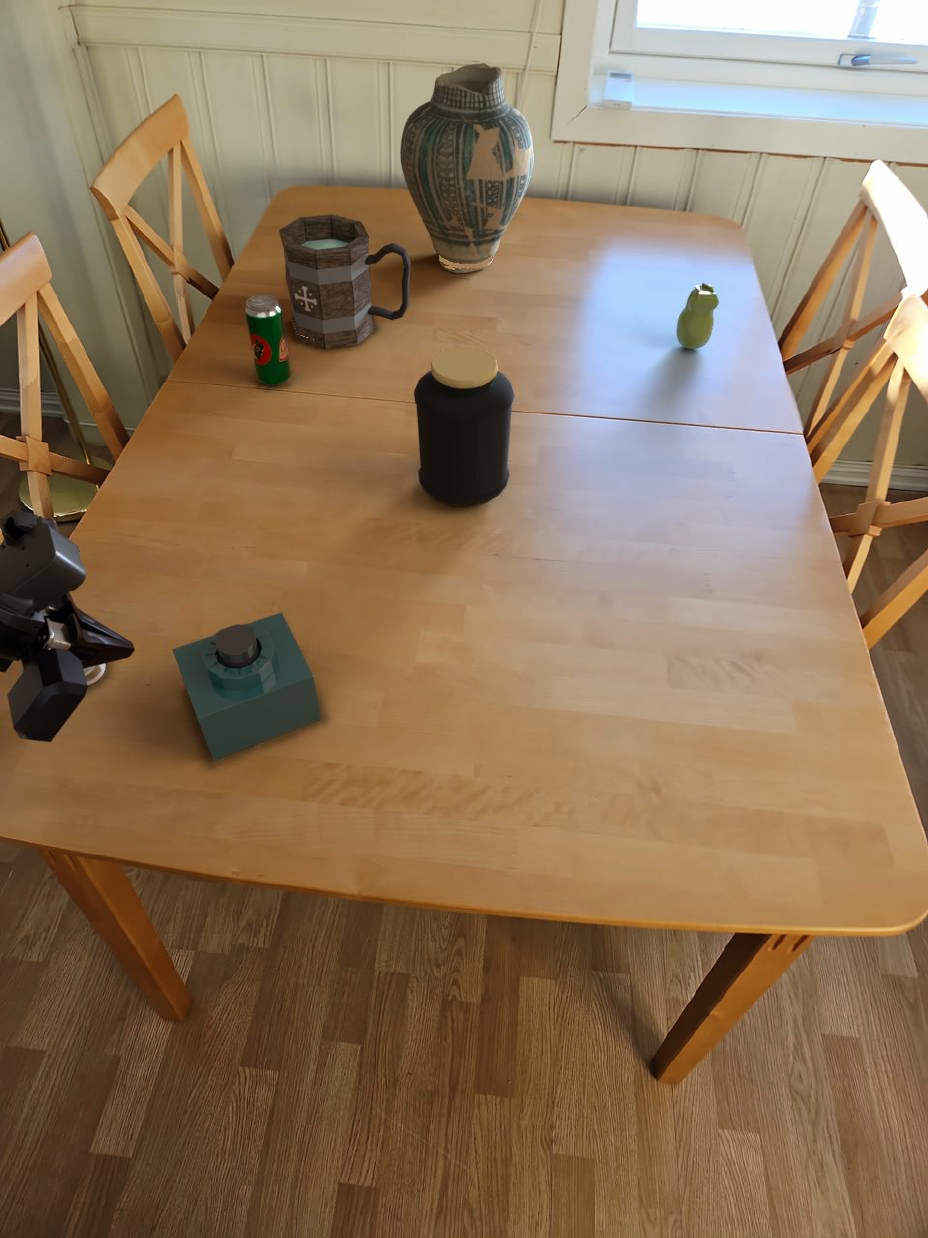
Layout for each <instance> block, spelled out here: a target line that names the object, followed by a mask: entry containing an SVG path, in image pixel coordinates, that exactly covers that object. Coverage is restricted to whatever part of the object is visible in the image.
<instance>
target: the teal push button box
mask: <svg viewBox="0 0 928 1238" xmlns="http://www.w3.org/2000/svg"><path fill="white" fill-rule="evenodd" d="M235 625H244V626H247V627H249V628H251V629H252V630H253V631H254V633H255V636H256V640H257V644H258V648H259V654H258V656H257V658H256V660H255V661H254V662H253V663H251V664H250V665H248V666H245V667H242V668H230V667H228V666H226V665H224V664H223V663H222V661H221V660H220V656H219V653H218V650H217V647H216V638H217V636H218V634H219V633H220V632H221V631H222V630H224V629H225V628H226V627H224V628H221V629H220V630H217V632H215V634H213V635H211V636H207V637H205V638H202V639H199V640H196V641H192V642H190V643H187V644H184V645H181V646H179V647H175V648H172V653H173V656H174V659H175V662H176V663H177V667H178V670H179V672H180V675H181V678H182V681H183V684H184V686H185V689H186V691H187V695H188V697H189V699H190V702H191V705H192V708H193V711H194V713H195V716H196V719H197V721H198V724H199V727H200V729H201V732H202V735H203V738H204V740H205V742H206V745H207V748H208V750H209V753H210V755H211V757H212V758H211V759H212V761H213V762H215V761H218V760H220V759H223V758H225V757H228V756H230V755H233V754H236V753H238V752H241V751H244V750H247V749H250V748H251V747H254V746H256V745H259V744H262V743H265V742H267V741H269V740H272V739H275V738H277V737H279V736H282V735H285V734H288V733H290V732H292V731H295V730H297V729H299V728H303V727H305V726H307V725H310V724H313V723H316V722H318V721H321V720H322V716H321V710H320V705H319V699H318V694H317V688H316V682H315V678H314V674H313V671H312V670H311V668H310V666H309V664H308V662H307V660H306V658H305V656H304V654H303V652H302V650H301V648H300V646H299V644H298V641H297V639H296V638H295V636H294V634H293V631H292V630H291V627H290V626H289V624H288V621H287V619H286V618H285V616H284V613H283V612H282V611H281V612H279V613H275V614H273V615H269V616H267V617H263V618H260V619H258V620H254V621H252V622H249V623H246V624H243V623H235Z"/></svg>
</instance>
